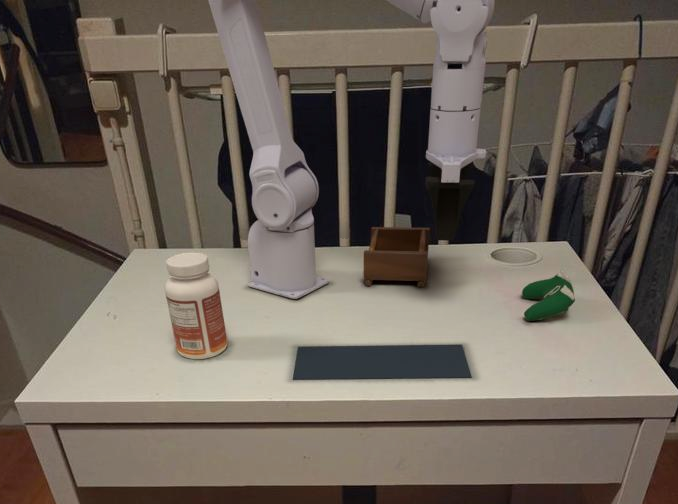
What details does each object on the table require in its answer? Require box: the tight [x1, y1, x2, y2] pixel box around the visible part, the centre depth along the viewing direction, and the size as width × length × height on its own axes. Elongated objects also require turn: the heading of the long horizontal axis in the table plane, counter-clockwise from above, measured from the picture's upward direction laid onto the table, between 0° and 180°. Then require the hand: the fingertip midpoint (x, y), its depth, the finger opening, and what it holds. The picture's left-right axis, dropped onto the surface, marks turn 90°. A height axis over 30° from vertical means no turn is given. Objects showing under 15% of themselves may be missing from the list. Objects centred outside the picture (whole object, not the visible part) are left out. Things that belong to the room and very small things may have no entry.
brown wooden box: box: [363, 226, 431, 288], centre depth 93 cm, size 12×9×5 cm
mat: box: [292, 343, 473, 381], centre depth 72 cm, size 20×8×1 cm, turn 88°
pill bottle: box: [164, 251, 228, 360], centre depth 73 cm, size 6×6×11 cm
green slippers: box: [521, 269, 576, 322], centre depth 81 cm, size 9×4×6 cm
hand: (445, 230), depth 80 cm, fingers open, 7 cm apart
